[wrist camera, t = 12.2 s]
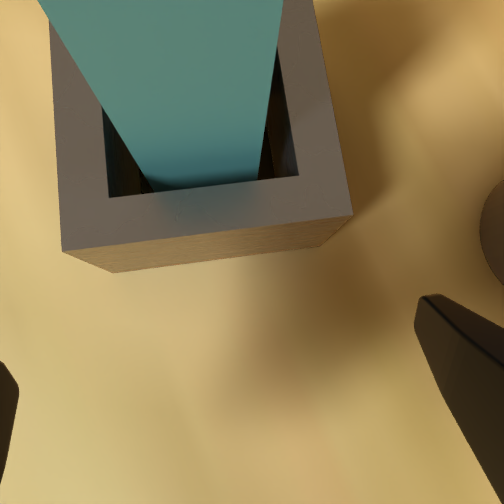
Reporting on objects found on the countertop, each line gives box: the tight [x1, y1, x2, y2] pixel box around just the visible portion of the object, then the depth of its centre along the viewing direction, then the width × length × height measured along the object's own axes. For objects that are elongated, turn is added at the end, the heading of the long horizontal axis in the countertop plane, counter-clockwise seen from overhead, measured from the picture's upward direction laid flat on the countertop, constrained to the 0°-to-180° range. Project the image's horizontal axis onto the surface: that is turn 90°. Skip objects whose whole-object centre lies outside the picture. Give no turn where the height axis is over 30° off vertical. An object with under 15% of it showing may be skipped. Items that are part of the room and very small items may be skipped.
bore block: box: [49, 0, 353, 273], centre depth 15 cm, size 9×9×5 cm
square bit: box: [38, 0, 283, 193], centre depth 12 cm, size 4×4×13 cm
